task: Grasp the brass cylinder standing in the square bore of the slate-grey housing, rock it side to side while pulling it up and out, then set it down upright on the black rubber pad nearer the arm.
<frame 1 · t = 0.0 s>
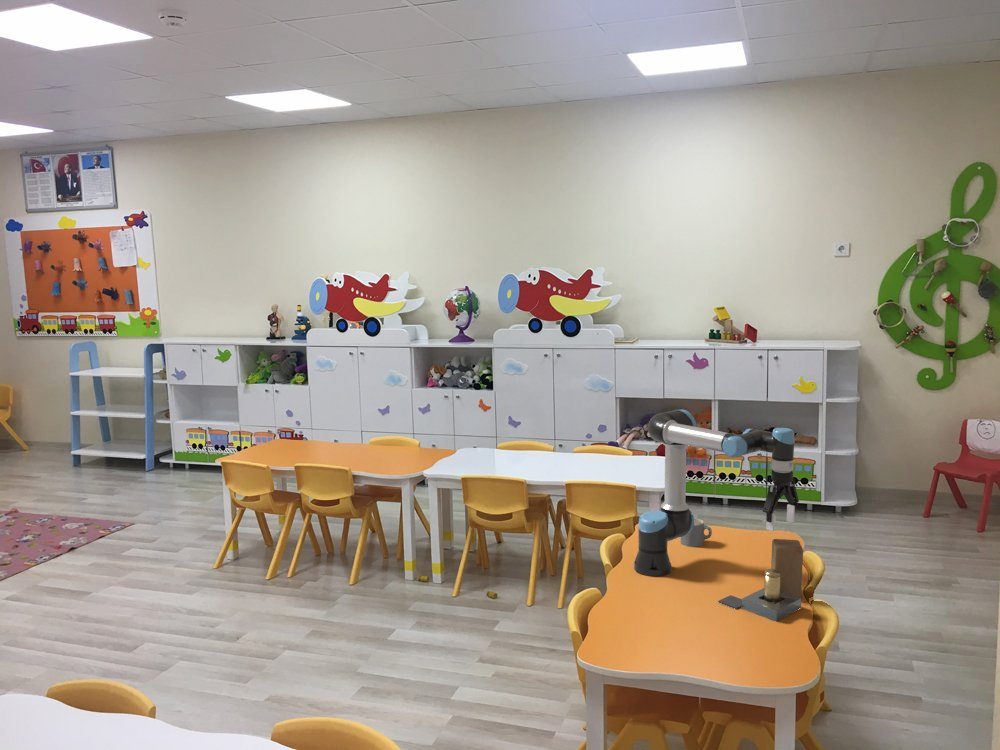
hand: (780, 526, 302), 28 cm above the table, fingers open, 13 cm apart
pad: (733, 602, 302), on the table
brass cylinder: (771, 590, 295), in the housing
coffee mug: (695, 543, 364), on the table
housing: (771, 608, 296), on the table
wooden block: (785, 593, 310), on the table
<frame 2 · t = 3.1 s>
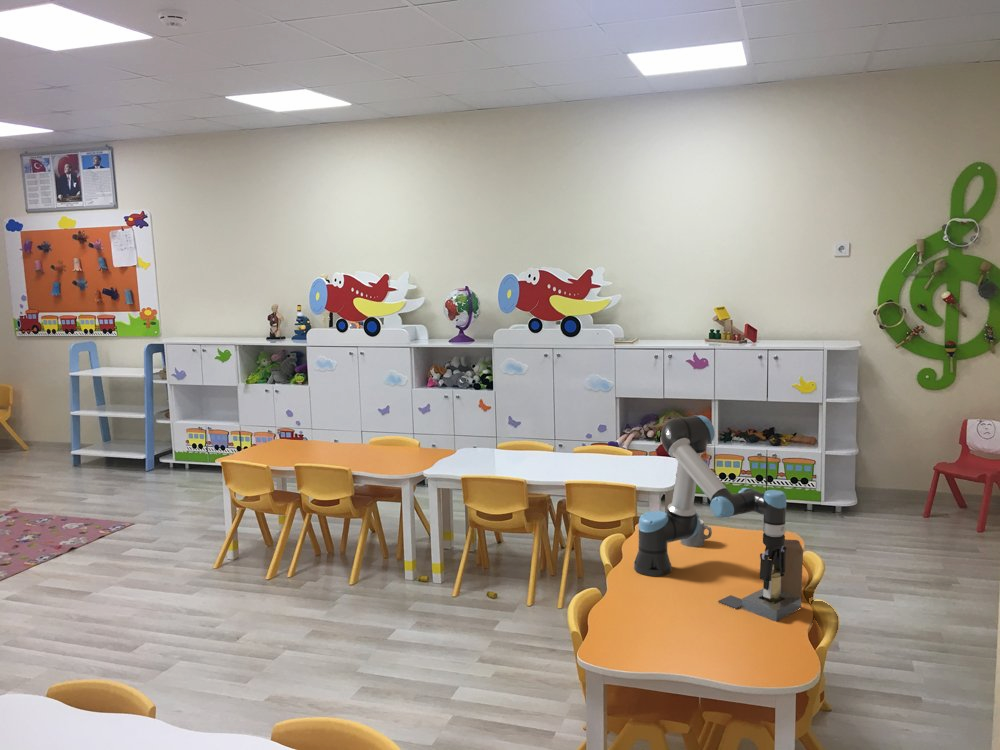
hand: (771, 594, 296), 5 cm above the table, fingers closed on brass cylinder, 5 cm apart
brass cylinder: (771, 590, 295), in the housing, touching gripper
everything else where it was.
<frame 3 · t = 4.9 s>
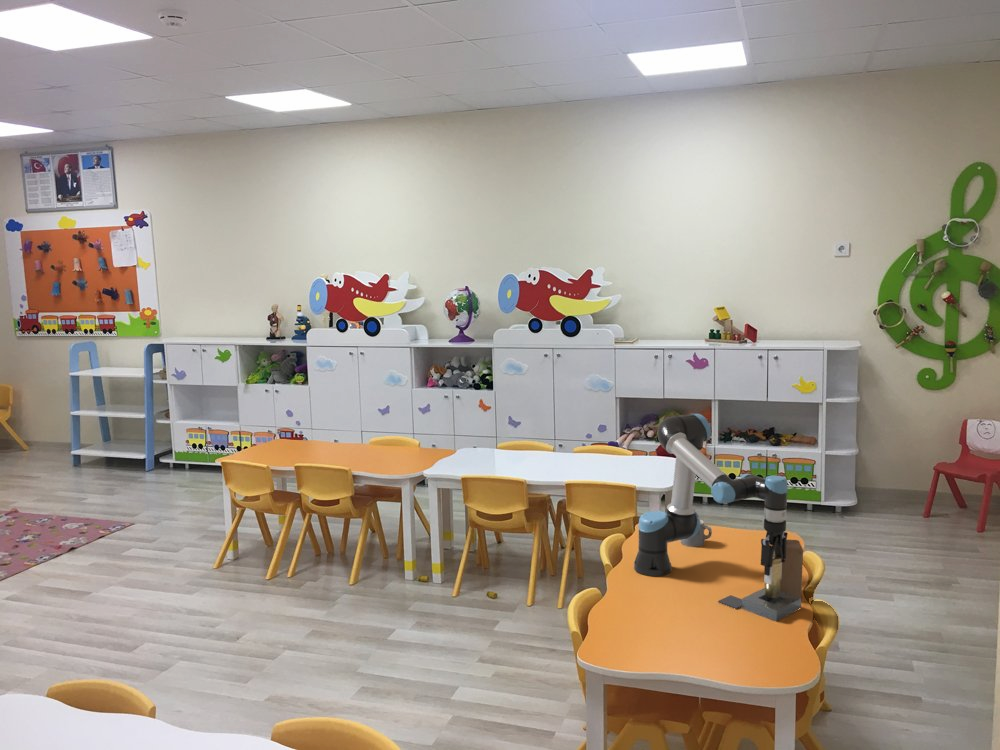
hand: (772, 580, 295), 11 cm above the table, fingers closed on brass cylinder, 5 cm apart
brass cylinder: (772, 576, 294), point 12 cm above the table, touching gripper
everything else where it was.
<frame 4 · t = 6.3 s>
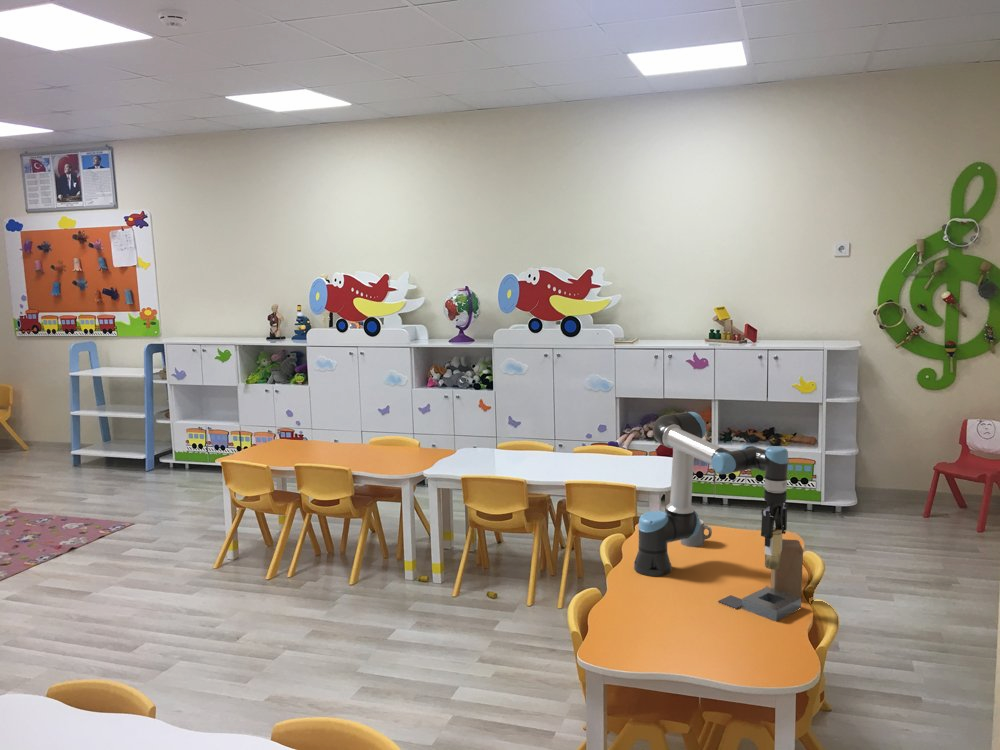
hand: (773, 552, 293), 21 cm above the table, fingers closed on brass cylinder, 5 cm apart
brass cylinder: (773, 548, 293), point 23 cm above the table, touching gripper
everything else where it was.
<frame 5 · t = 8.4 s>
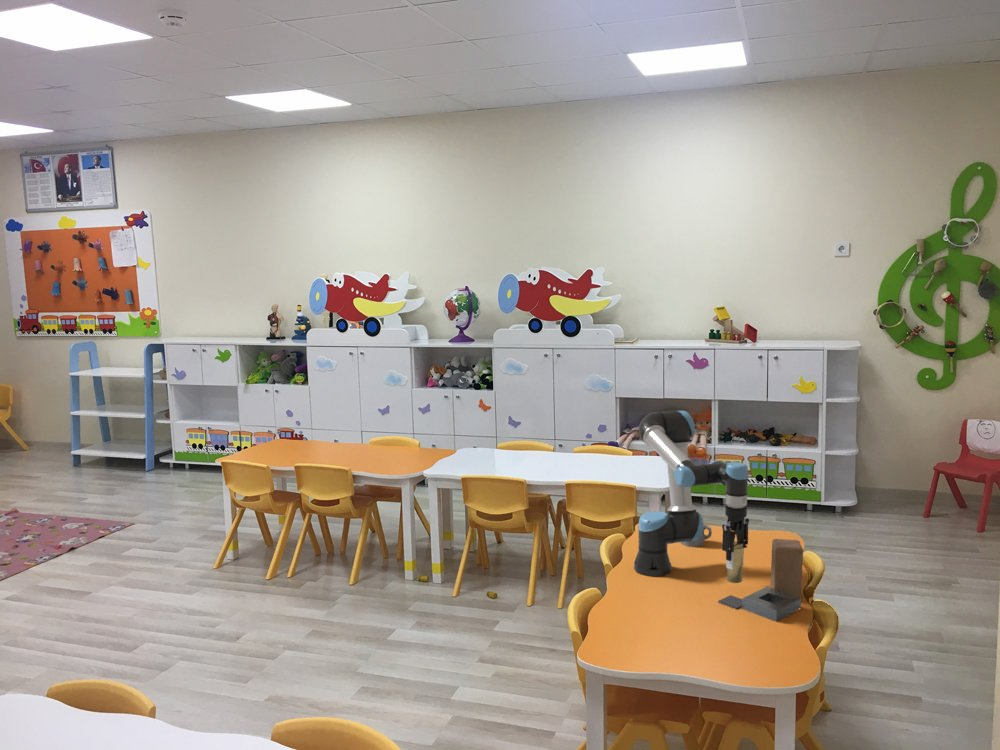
hand: (734, 566, 300), 14 cm above the table, fingers closed on brass cylinder, 5 cm apart
brass cylinder: (734, 562, 299), point 16 cm above the table, touching gripper
everything else where it was.
when the fingers open (7 cm above the table, at t = 9.8 s): brass cylinder stays where it is, resting on pad.
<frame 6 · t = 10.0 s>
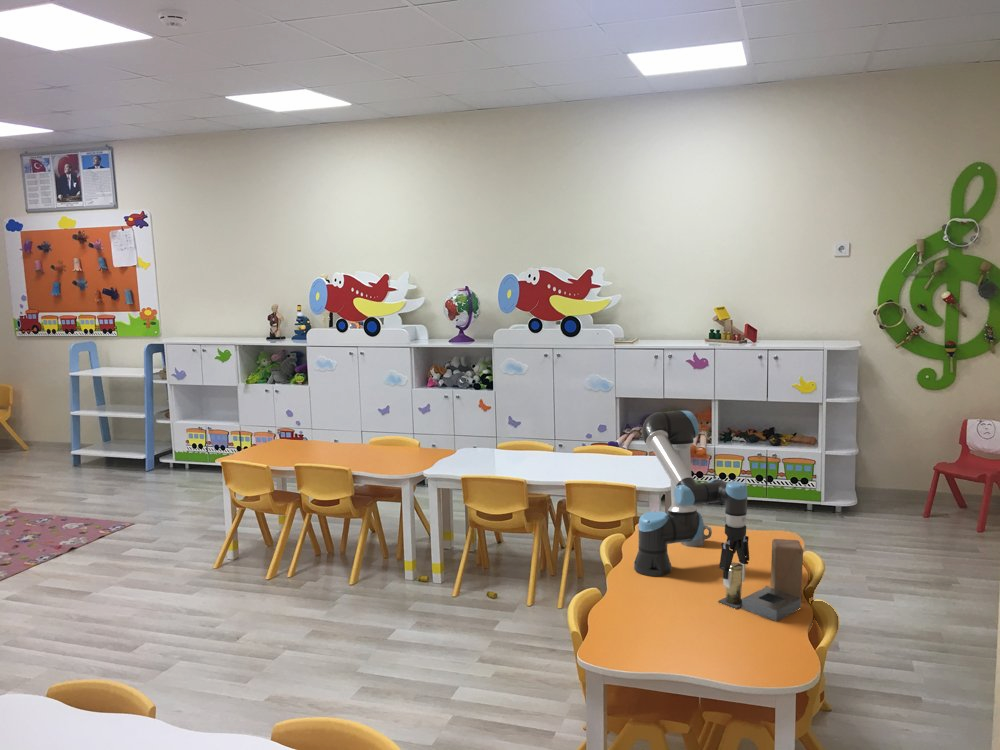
hand: (734, 583, 301), 8 cm above the table, fingers open, 8 cm apart
brass cylinder: (734, 583, 301), on the pad, point 8 cm above the table
everything else where it was.
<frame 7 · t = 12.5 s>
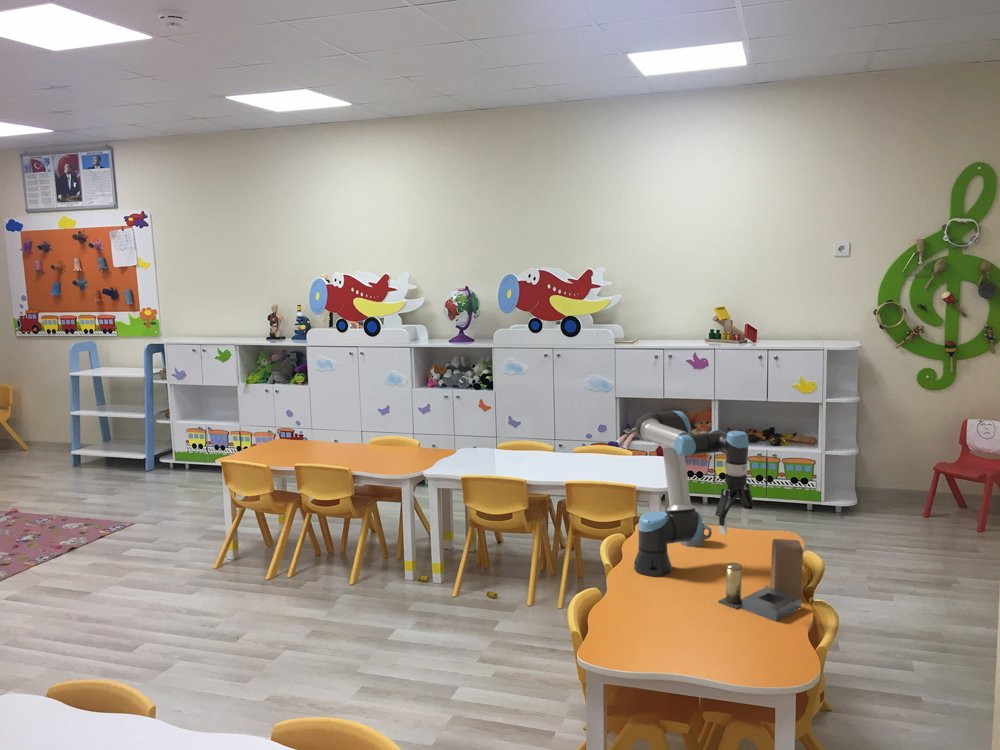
hand: (734, 529, 300), 28 cm above the table, fingers open, 13 cm apart
nothing on the table moved.
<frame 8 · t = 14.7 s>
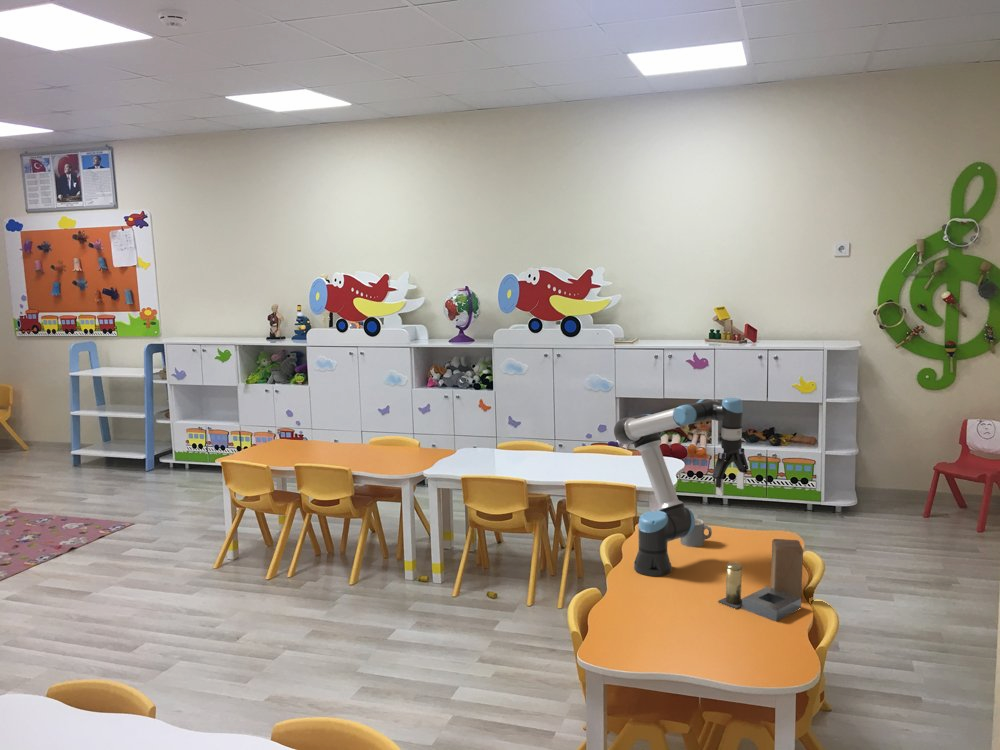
hand: (730, 491, 316), 37 cm above the table, fingers open, 13 cm apart
nothing on the table moved.
at the end: brass cylinder inside the target area on the pad (0.1 cm from its centre), point 7.6 cm above the pad's base; brass cylinder tilted 0°; the gripper is holding nothing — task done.
